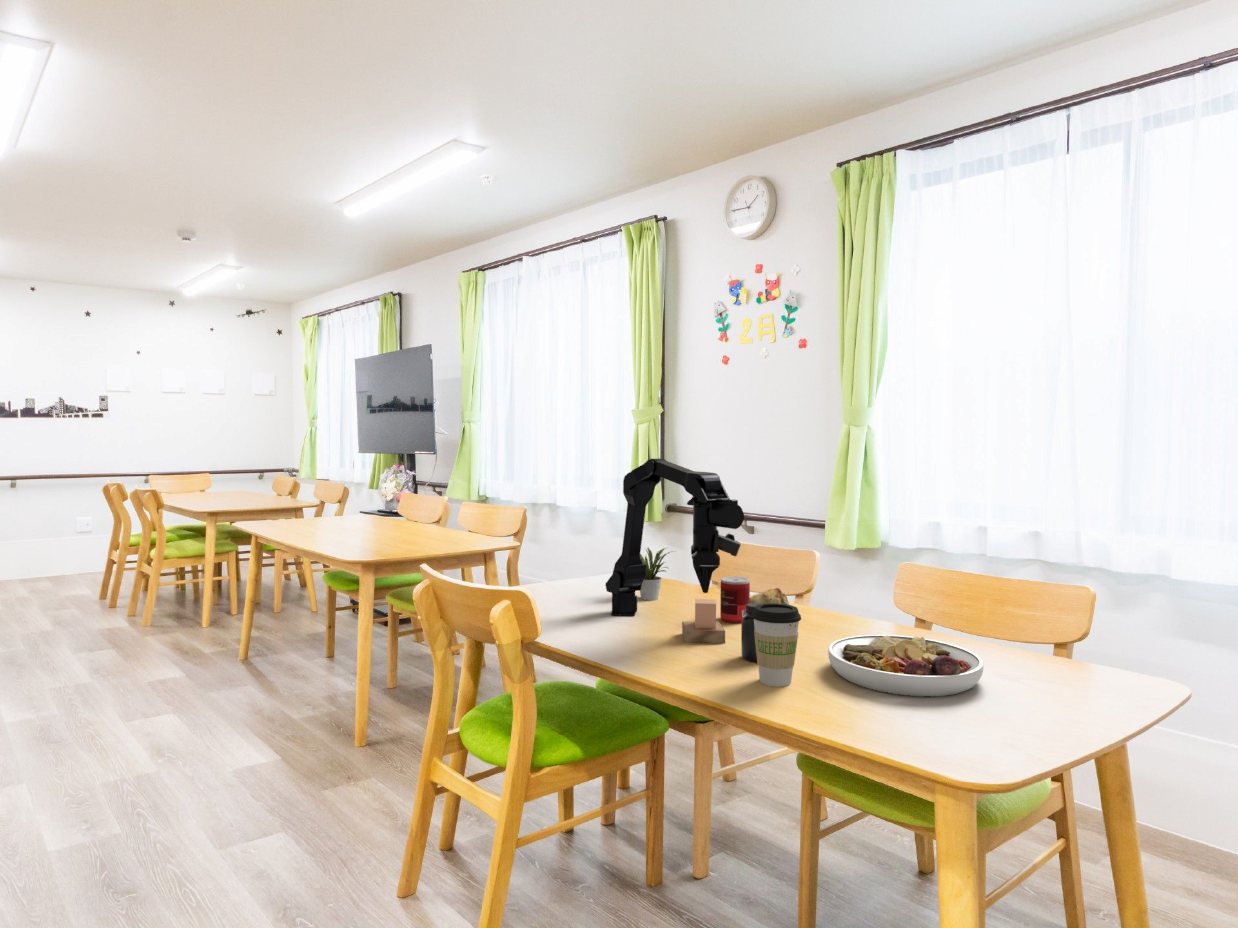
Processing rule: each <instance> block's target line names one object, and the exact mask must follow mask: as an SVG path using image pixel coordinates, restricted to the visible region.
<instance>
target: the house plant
mask: <svg viewBox="0 0 1238 928" xmlns="http://www.w3.org/2000/svg"><path fill="white" fill-rule="evenodd" d="M646 548H647V549H645V551H646V554H647V555H645V556H643V555H642V554H641V553H640V558H641V560H642V562H643V564H646V571H645V577H646V578H645V579H644V581H643V583H642V587H641V590H640V591H639V593H640V599H641V600H644V601H657V600H659V596H660V590H661V584H662V577H660V576H658V575H657V574H658V573H661V572H666V573H667V571H666V570H664V568H666V569H668V570H669V567H668V566H664V567H662V566H663V565H664V564H665V563H666V561H664V562H662V560H663V559H664V557H666V556H667V555H668V554H670V553H672V552H673V553H675V552H677V551H674V550H673V551H669V552H667V553H664V550H666V549H668V548H669V547H664V548H661V549H660V550H658V551H657V552H656V553H655V557H653V551H651V549H650V548H649V547H646ZM663 553H664V554H663ZM647 556H648V557H647ZM661 569H662V570H661Z"/></svg>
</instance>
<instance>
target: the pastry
mask: <svg viewBox="0 0 1238 928" xmlns="http://www.w3.org/2000/svg"><path fill="white" fill-rule="evenodd" d="M749 603H763V604H766V603H778V604H787V605H790V603H789V601H788V597H787V595H786V594H785V593H784V592H782V590H781V589H780V588H778V587H776V588H770V589H768V590H764V591H761V592H759V593H755V594H753V595H752V596H750V601H749Z"/></svg>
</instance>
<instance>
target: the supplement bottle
mask: <svg viewBox="0 0 1238 928" xmlns="http://www.w3.org/2000/svg"><path fill="white" fill-rule="evenodd" d="M759 604H763V603H749V604H746V613H747V615H746V616H745V617H743V619H742V623H740V624H741V629H740V630H741V637H740V638H741V643H740V644H741V646H740V647H741V658H742V659H743V660H744V661H748V662H753V663H757V654H756V644H755V635H754V630H755V627H754V619H753V618H752V617H751V616H752V612H753V611H754V609H755V606H756V605H759Z"/></svg>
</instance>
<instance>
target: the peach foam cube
mask: <svg viewBox="0 0 1238 928" xmlns="http://www.w3.org/2000/svg"><path fill="white" fill-rule="evenodd" d="M694 601H695V603H694V622H695V628H710V629H716V621H717V599H716V598H715V599H712V598H695V600H694Z"/></svg>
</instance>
